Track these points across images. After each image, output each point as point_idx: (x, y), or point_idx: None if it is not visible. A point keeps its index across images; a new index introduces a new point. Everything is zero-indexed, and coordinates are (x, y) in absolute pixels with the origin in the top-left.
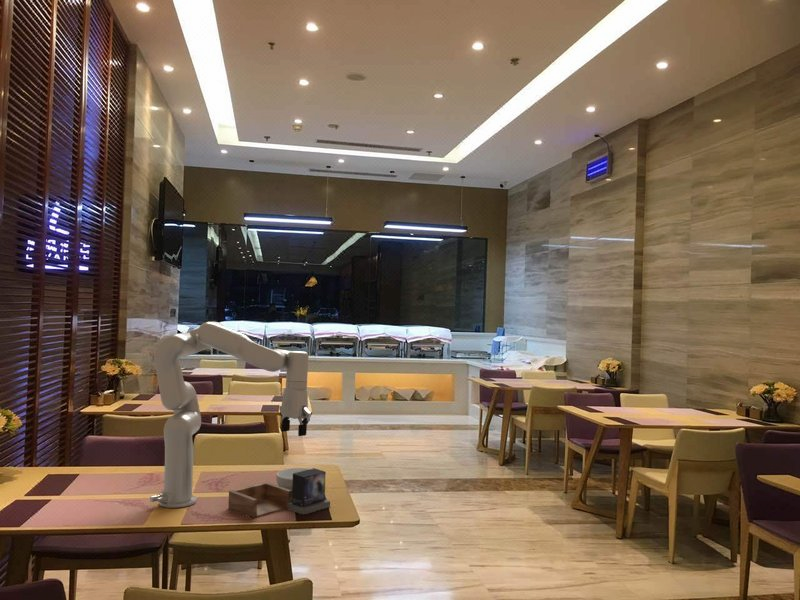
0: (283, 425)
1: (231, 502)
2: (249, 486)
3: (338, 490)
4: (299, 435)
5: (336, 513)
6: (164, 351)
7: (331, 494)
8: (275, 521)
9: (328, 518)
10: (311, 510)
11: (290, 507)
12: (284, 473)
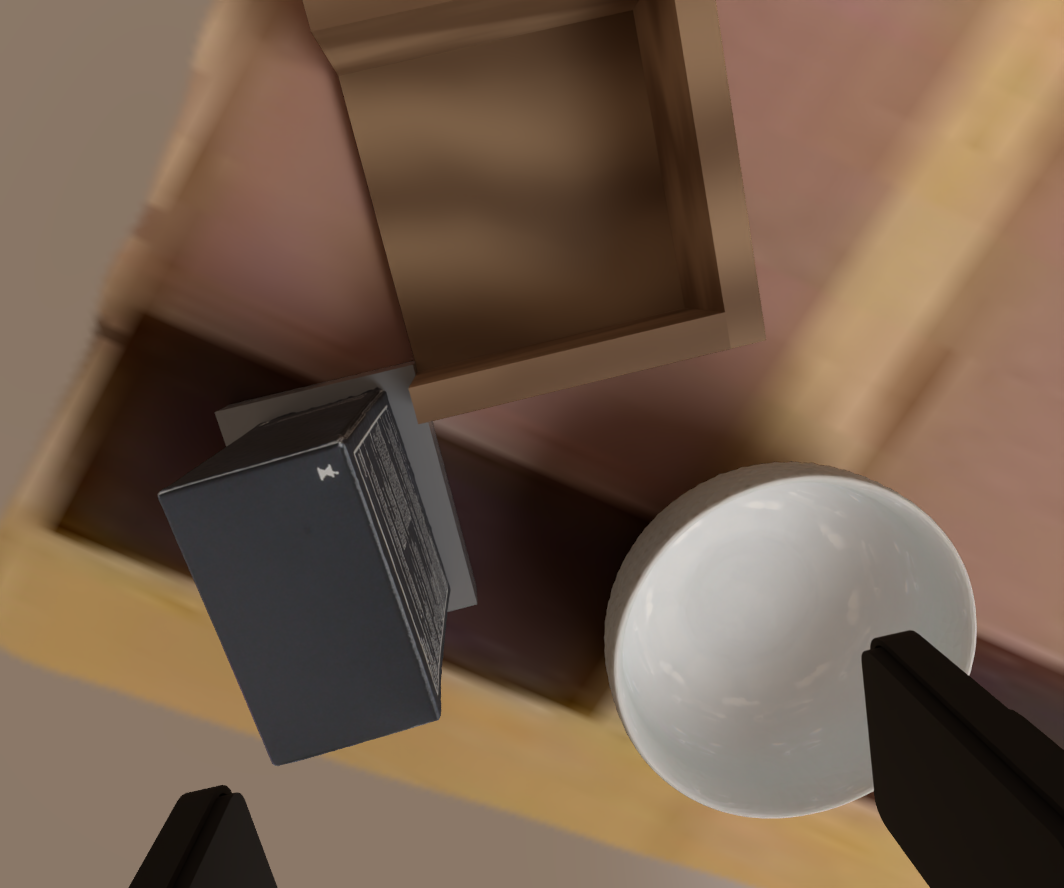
0: (959, 750)
1: None
2: (732, 143)
3: (610, 821)
4: (187, 806)
5: (156, 609)
6: None
7: (556, 749)
8: (186, 166)
9: (78, 519)
10: None
11: (372, 371)
12: (942, 585)
